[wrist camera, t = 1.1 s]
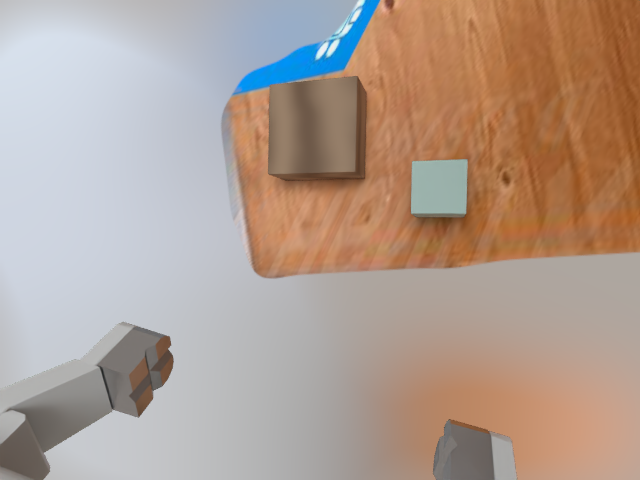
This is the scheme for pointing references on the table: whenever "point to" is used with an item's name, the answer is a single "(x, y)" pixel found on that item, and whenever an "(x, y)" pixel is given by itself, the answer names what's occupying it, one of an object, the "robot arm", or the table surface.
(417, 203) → the sage block
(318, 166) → the walnut block
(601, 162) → the table surface
